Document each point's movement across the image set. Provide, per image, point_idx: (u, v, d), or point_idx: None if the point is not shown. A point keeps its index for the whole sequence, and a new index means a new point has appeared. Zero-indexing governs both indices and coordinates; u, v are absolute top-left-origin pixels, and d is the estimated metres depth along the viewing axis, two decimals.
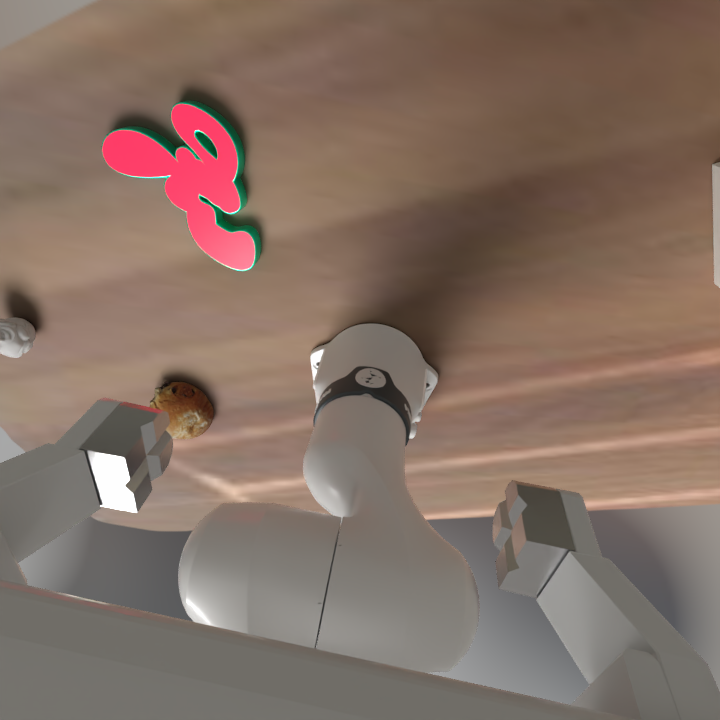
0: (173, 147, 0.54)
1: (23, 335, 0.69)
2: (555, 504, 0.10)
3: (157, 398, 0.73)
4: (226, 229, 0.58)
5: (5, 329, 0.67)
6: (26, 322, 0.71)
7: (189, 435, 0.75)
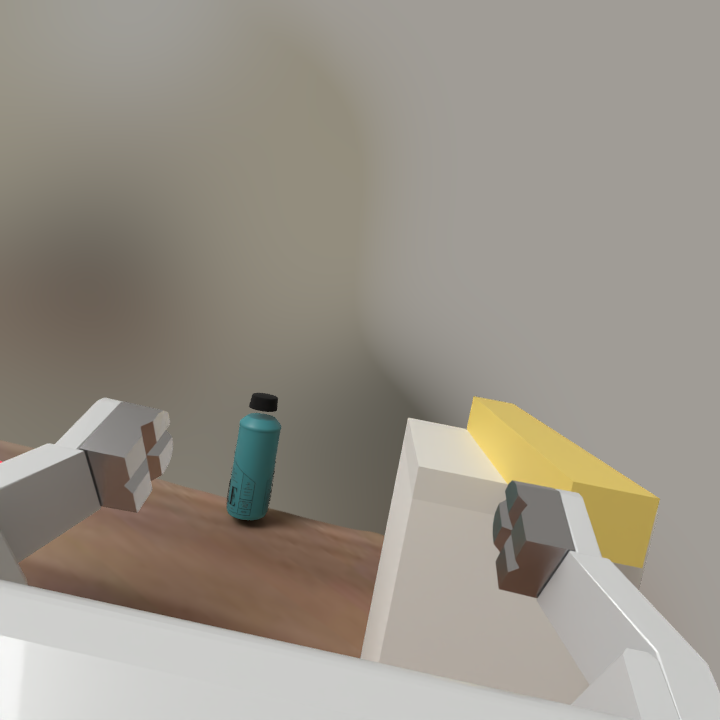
0: None
1: None
2: (555, 504, 0.10)
3: None
4: None
5: None
6: None
7: None
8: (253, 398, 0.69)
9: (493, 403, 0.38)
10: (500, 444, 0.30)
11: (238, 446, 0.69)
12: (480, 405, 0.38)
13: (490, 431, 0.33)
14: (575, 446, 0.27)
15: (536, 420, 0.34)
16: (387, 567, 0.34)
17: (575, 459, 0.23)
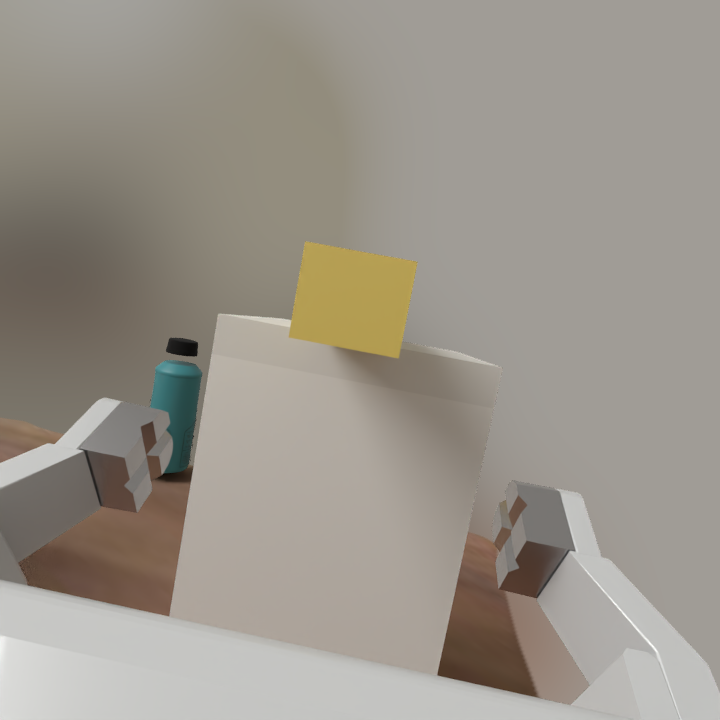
0: None
1: None
2: (555, 504, 0.10)
3: None
4: None
5: None
6: None
7: None
8: (169, 341, 0.64)
9: None
10: None
11: (153, 393, 0.64)
12: None
13: None
14: None
15: None
16: None
17: None
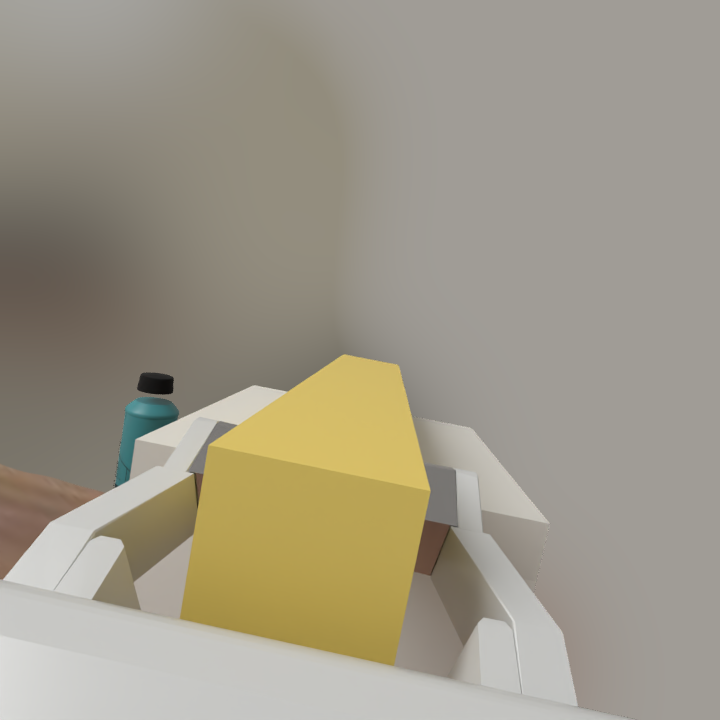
0: None
1: None
2: (448, 482, 0.10)
3: None
4: None
5: None
6: None
7: None
8: (140, 378, 0.57)
9: (360, 360, 0.27)
10: None
11: (122, 436, 0.57)
12: None
13: None
14: (399, 402, 0.15)
15: (396, 377, 0.22)
16: None
17: (347, 414, 0.11)
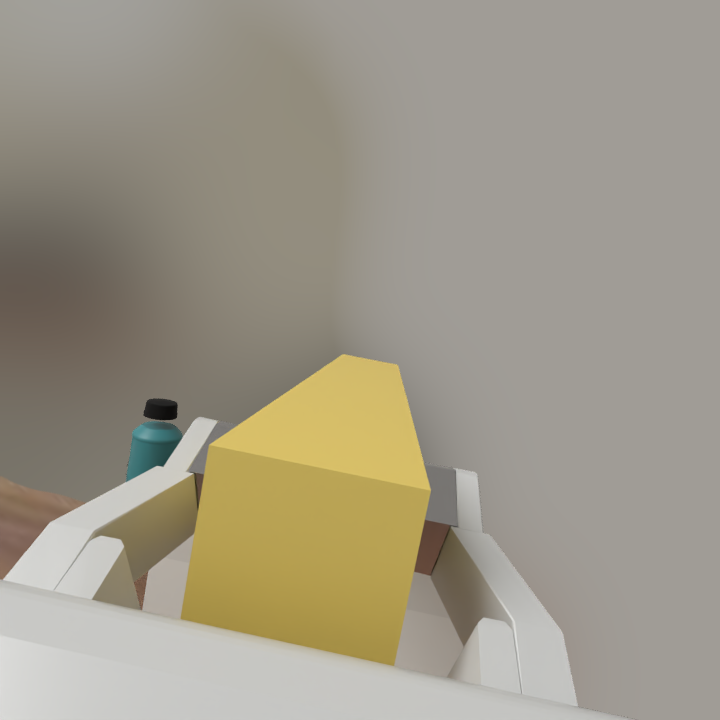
0: None
1: None
2: (448, 482, 0.10)
3: None
4: None
5: None
6: None
7: None
8: (147, 405, 0.61)
9: (359, 360, 0.27)
10: None
11: (130, 459, 0.61)
12: None
13: None
14: (399, 402, 0.15)
15: (396, 377, 0.22)
16: None
17: (347, 414, 0.11)
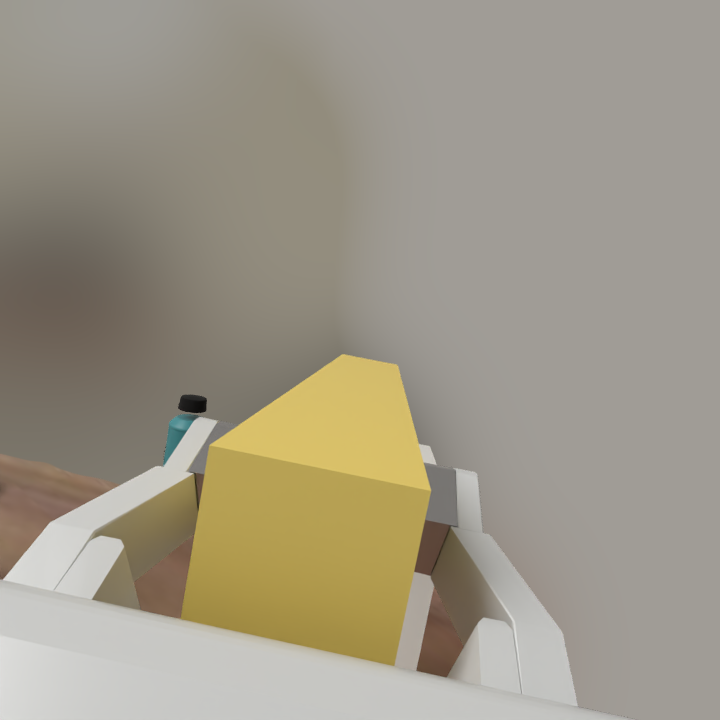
0: None
1: None
2: (448, 482, 0.10)
3: None
4: None
5: None
6: None
7: None
8: (181, 400, 0.71)
9: (359, 360, 0.27)
10: None
11: (167, 446, 0.71)
12: None
13: None
14: (399, 402, 0.15)
15: (395, 377, 0.22)
16: None
17: (347, 414, 0.11)
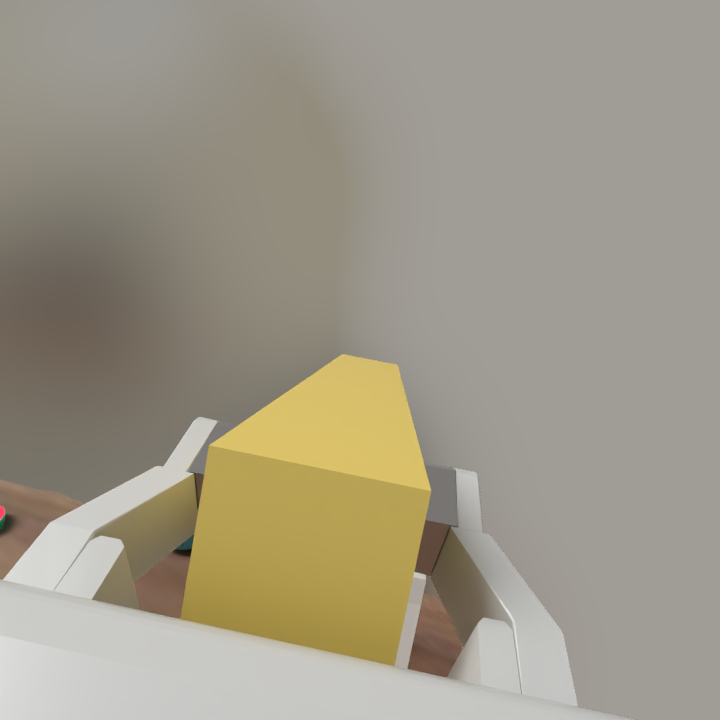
0: None
1: None
2: (448, 482, 0.10)
3: None
4: None
5: None
6: None
7: None
8: None
9: (359, 360, 0.27)
10: None
11: None
12: None
13: None
14: (399, 402, 0.15)
15: (395, 377, 0.22)
16: None
17: (347, 414, 0.11)
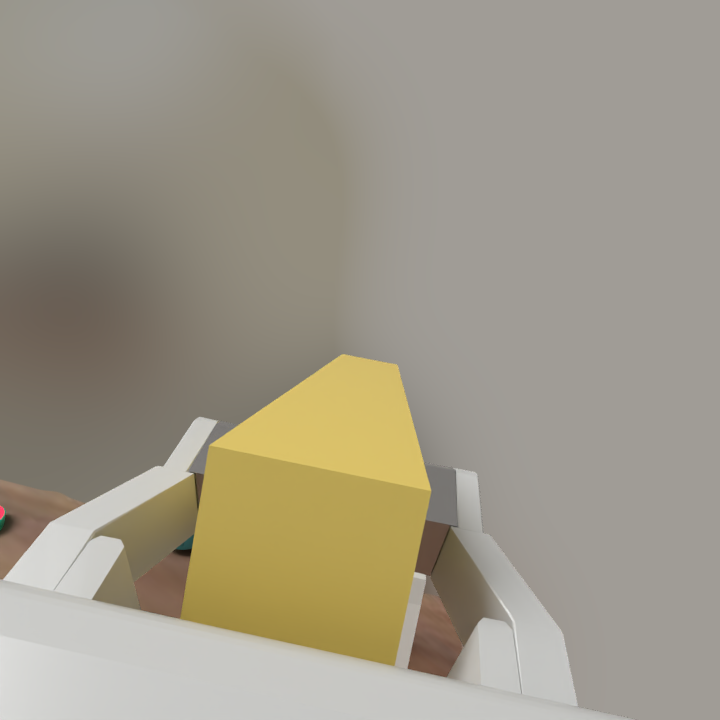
0: None
1: None
2: (448, 482, 0.10)
3: None
4: None
5: None
6: None
7: None
8: None
9: (359, 360, 0.27)
10: None
11: None
12: None
13: None
14: (399, 402, 0.15)
15: (395, 377, 0.22)
16: None
17: (347, 414, 0.11)
